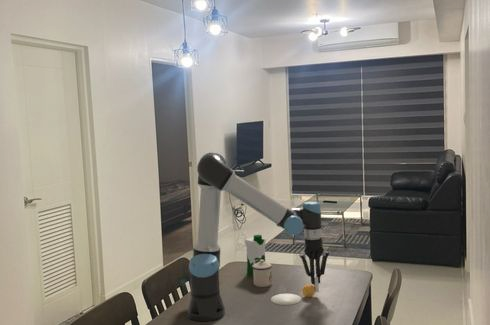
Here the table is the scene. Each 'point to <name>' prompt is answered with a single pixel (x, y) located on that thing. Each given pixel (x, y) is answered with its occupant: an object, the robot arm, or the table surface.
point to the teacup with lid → (262, 274)
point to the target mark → (286, 299)
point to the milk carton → (254, 251)
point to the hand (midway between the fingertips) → (316, 290)
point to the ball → (308, 290)
